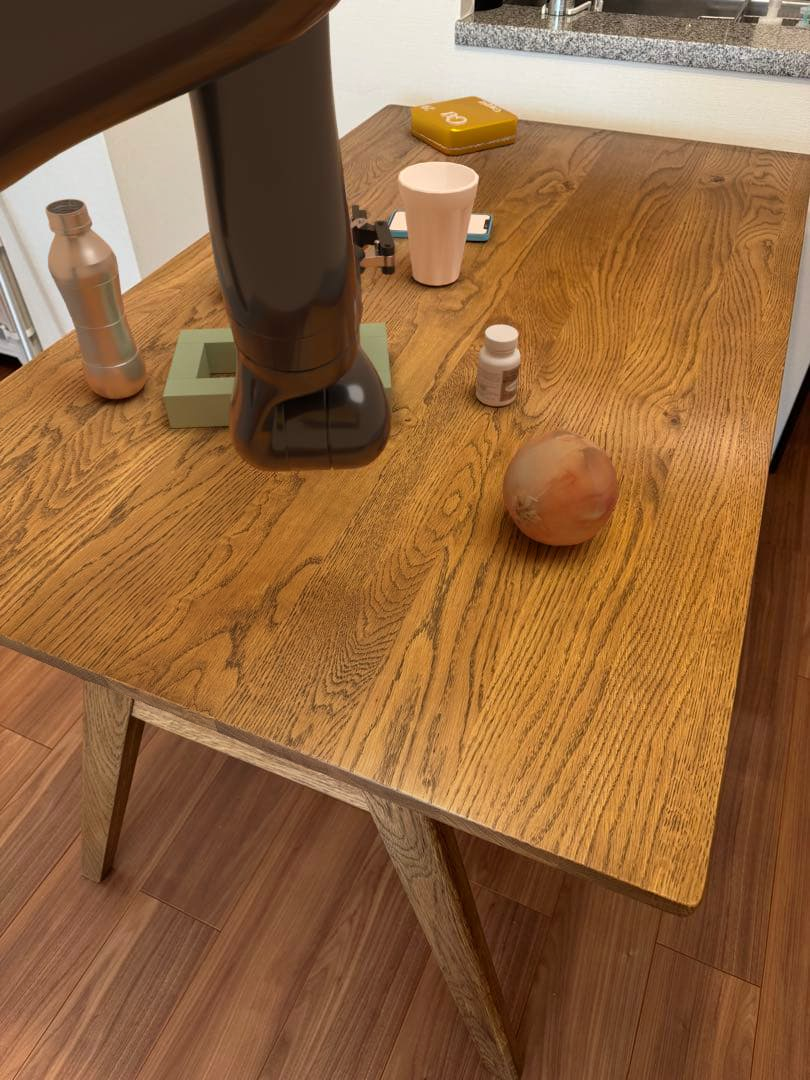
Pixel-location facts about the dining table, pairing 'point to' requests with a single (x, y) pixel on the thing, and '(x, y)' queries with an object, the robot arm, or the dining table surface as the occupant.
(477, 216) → the smartphone
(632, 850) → the dining table surface
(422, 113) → the element tile
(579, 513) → the onion
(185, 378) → the holder
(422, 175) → the cup
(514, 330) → the pill bottle
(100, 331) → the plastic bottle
